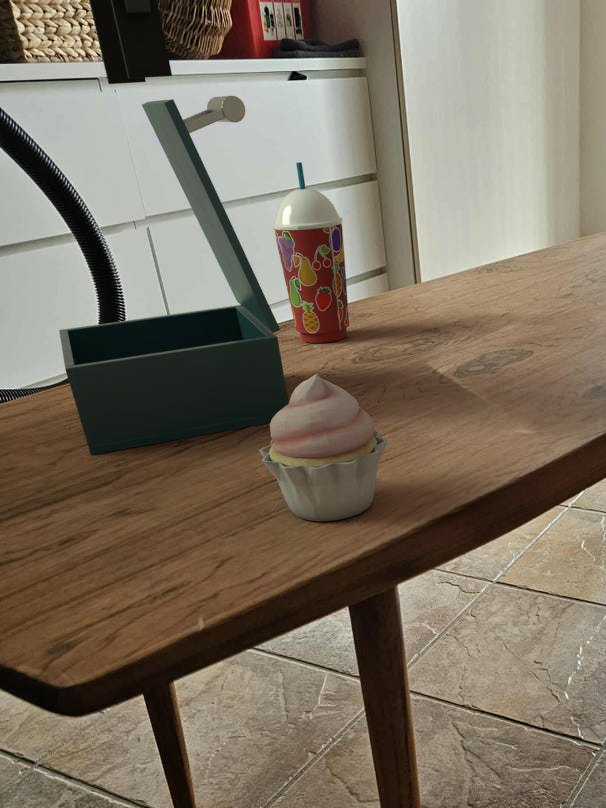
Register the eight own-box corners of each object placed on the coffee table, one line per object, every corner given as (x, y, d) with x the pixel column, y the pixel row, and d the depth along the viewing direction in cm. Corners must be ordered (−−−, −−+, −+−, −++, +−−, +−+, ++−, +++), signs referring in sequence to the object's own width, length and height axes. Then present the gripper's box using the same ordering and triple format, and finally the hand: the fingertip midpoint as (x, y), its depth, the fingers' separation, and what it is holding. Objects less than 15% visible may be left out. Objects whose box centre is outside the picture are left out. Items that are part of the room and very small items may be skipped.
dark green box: (90, 455, 81) (65, 368, 77) (81, 405, 95) (58, 329, 91) (291, 418, 87) (277, 336, 83) (254, 376, 101) (241, 304, 97)
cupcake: (350, 540, 63) (329, 399, 58) (245, 521, 67) (217, 387, 61) (417, 491, 70) (404, 361, 65) (319, 476, 74) (299, 353, 68)
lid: (164, 102, 71) (241, 70, 72) (141, 104, 85) (206, 77, 86) (272, 333, 83) (337, 302, 84) (237, 301, 97) (293, 275, 98)
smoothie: (369, 333, 116) (349, 158, 106) (328, 348, 110) (301, 165, 100) (320, 328, 120) (296, 159, 110) (278, 343, 114) (247, 166, 104)
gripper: (135, -439, 44) (224, 70, 55) (94, -269, 64) (166, 82, 75) (-31, -460, 42) (97, 77, 53) (-21, -277, 61) (71, 87, 72)
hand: (138, 81), depth 64 cm, fingers open, 13 cm apart
